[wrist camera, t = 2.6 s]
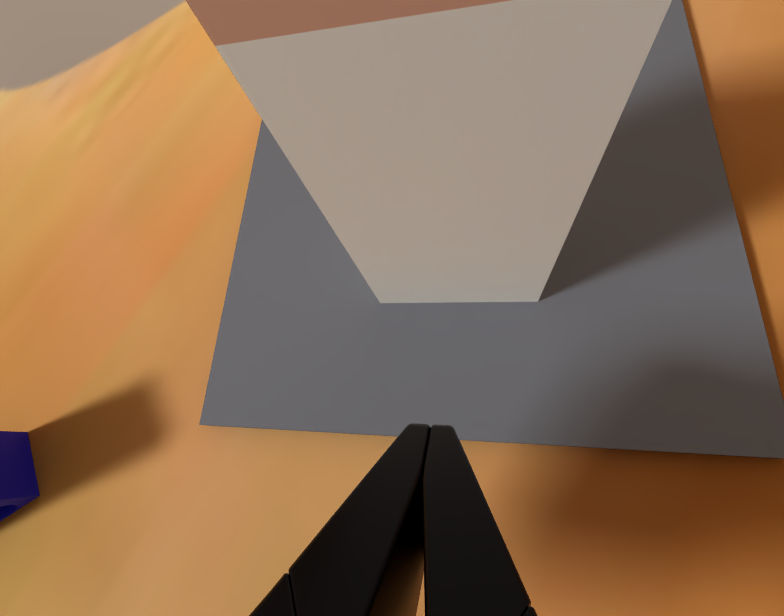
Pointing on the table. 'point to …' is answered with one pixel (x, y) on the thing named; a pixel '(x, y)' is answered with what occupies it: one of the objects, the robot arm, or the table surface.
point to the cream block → (441, 125)
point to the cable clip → (16, 473)
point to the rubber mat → (523, 310)
